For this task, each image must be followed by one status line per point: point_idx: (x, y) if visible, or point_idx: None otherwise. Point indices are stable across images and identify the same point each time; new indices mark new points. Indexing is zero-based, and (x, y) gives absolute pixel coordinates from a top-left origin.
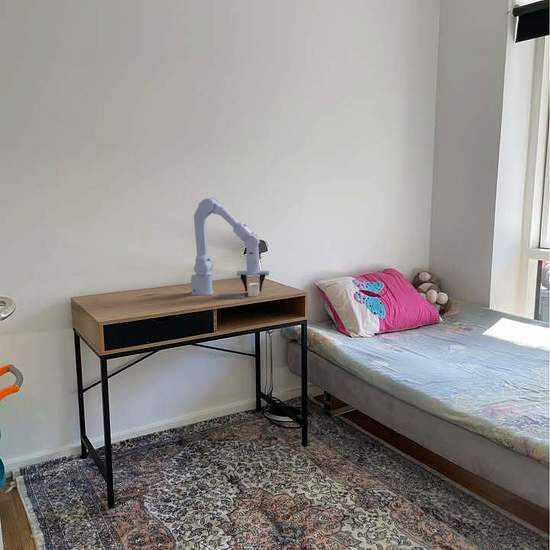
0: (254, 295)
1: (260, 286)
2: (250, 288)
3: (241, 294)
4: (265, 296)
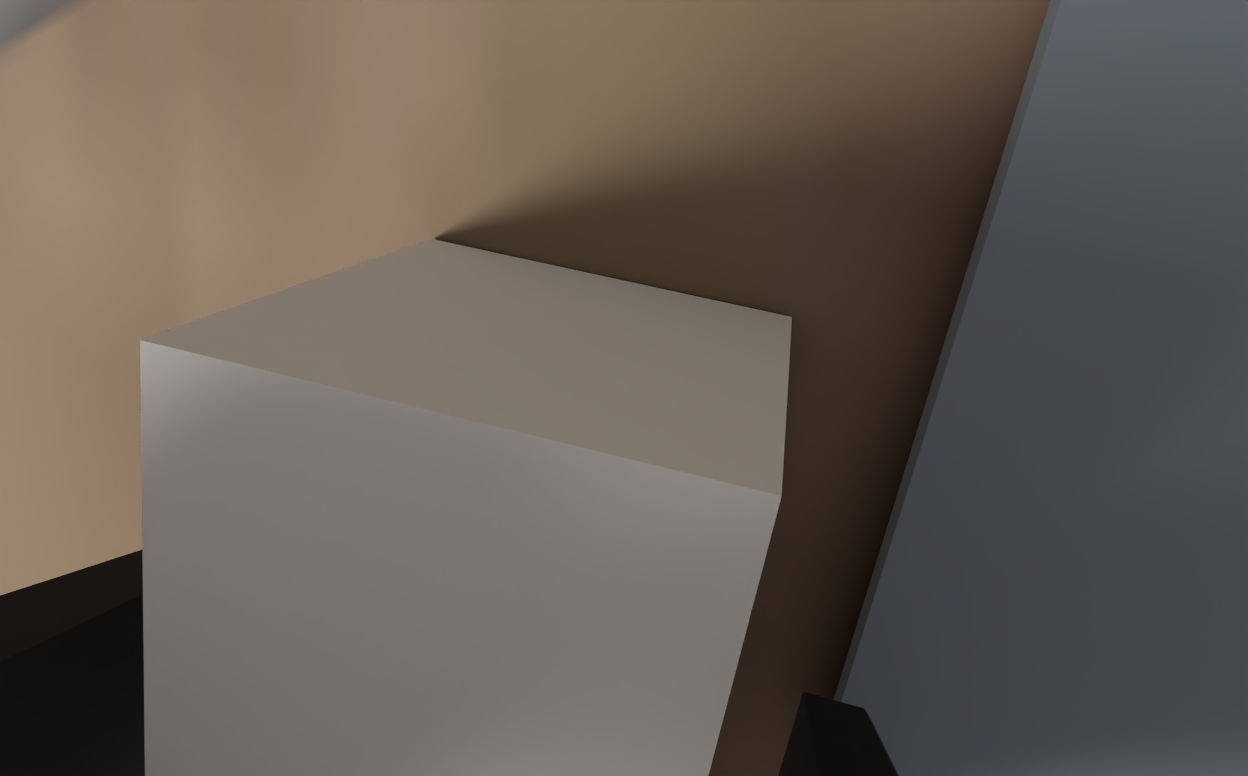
0: (520, 266)
1: (23, 618)
2: (623, 405)
3: (1069, 578)
4: (129, 199)
